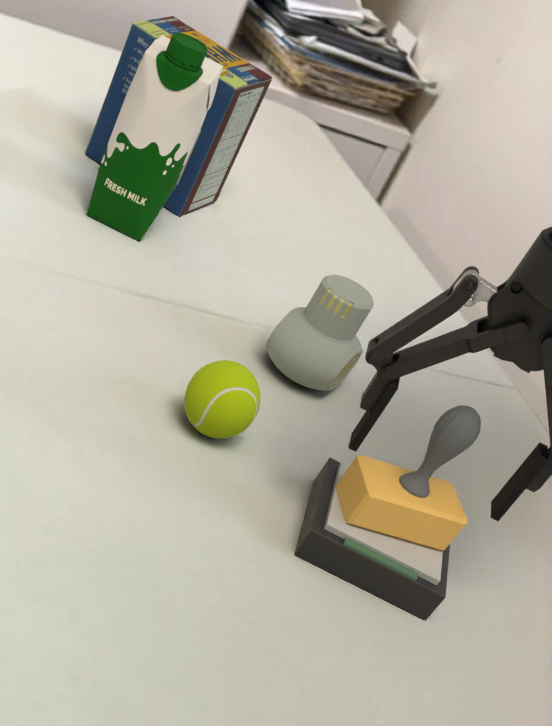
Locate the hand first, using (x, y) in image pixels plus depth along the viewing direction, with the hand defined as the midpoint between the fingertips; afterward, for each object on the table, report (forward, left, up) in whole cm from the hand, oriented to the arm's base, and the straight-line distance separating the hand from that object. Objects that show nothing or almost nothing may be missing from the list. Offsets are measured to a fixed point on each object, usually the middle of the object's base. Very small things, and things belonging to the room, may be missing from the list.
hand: (423, 477), depth 95 cm
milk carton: (+37, -41, -9) cm, 56 cm away
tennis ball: (+18, -6, -9) cm, 21 cm away
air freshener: (+11, -26, -9) cm, 30 cm away
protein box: (+37, -56, -9) cm, 68 cm away
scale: (0, 0, -8) cm, 9 cm away
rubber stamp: (0, 0, -5) cm, 5 cm away
